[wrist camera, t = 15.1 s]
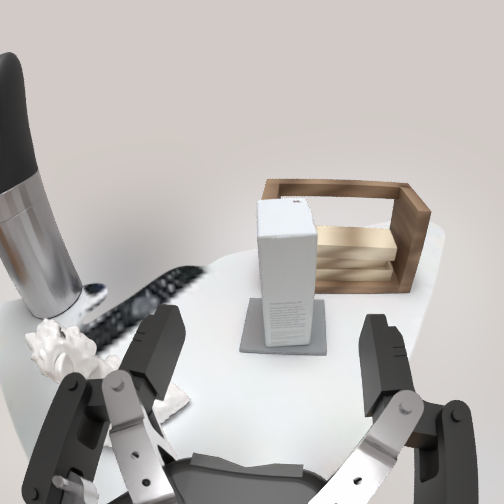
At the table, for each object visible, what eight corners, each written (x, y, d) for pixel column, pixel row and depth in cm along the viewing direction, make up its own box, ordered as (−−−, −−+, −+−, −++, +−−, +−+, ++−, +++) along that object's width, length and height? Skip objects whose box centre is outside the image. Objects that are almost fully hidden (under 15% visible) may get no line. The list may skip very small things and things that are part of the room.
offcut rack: (265, 292, 33) (259, 206, 27) (270, 254, 39) (266, 179, 33) (409, 292, 30) (431, 211, 24) (394, 255, 36) (407, 183, 31)
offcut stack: (287, 282, 32) (287, 246, 30) (289, 256, 37) (288, 222, 34) (391, 283, 31) (399, 248, 28) (382, 257, 35) (388, 224, 32)
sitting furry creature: (196, 397, 22) (151, 295, 16) (147, 478, 16) (54, 412, 9) (116, 361, 26) (62, 265, 19) (69, 424, 19) (-14, 338, 12)
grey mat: (239, 351, 26) (239, 349, 26) (250, 300, 32) (249, 298, 32) (326, 354, 25) (326, 352, 25) (323, 302, 31) (324, 299, 30)
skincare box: (263, 304, 31) (256, 198, 24) (304, 301, 31) (307, 196, 24) (264, 349, 26) (255, 236, 19) (311, 346, 26) (320, 232, 19)
